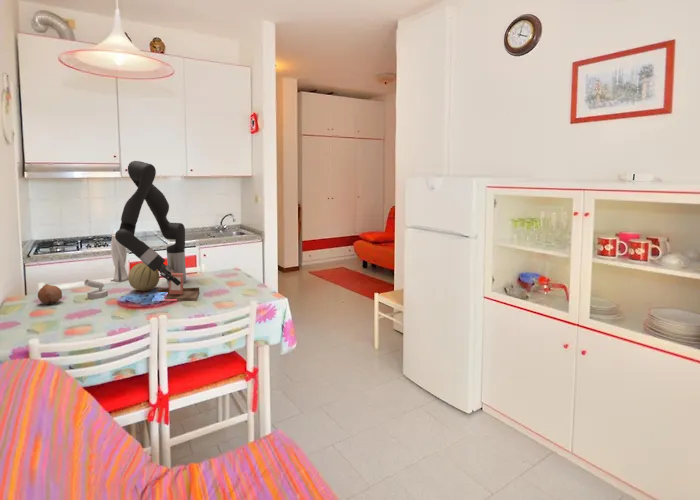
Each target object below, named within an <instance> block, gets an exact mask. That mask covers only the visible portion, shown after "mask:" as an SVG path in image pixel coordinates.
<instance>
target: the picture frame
mask: <svg viewBox="0 0 700 500" xmlns="http://www.w3.org/2000/svg"><path fill="white" fill-rule="evenodd" d="M172 275H173V276H174V277H175V278H176V279H178V280H179V281H180V282H181V283H180V284H179V285H178V286H177V285H176V284H175V283H174V282H172V281H169V283H168V284H169V285H168V288H169V294H183V288H184V283H183V273H172ZM169 277H170V276H169Z"/></svg>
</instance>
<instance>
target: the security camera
mask: <svg viewBox="0 0 700 500" xmlns="http://www.w3.org/2000/svg"><path fill="white" fill-rule="evenodd" d="M84 286H86V287H91V288H96V289H91V290H89V291H87V293H86V294H87V298H88V299H91V300H93V299H96V300H97V299H98V300H99V299H103V298H106V297H108V292H109V291H108V289H106V288H104V287H105V286H104V283H103V282H100V281H96V280H92V279H87V278H86V279H85V280H84Z"/></svg>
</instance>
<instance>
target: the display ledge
mask: <svg viewBox="0 0 700 500" xmlns="http://www.w3.org/2000/svg"><path fill="white" fill-rule="evenodd" d="M157 292H168V294H167V297H166V298H165V299H177V301H176V302H190V301H191V302H193V301H197V299H198V297H199V295H200V287H198V286H197V287H183V294H169V287H168V288H157V289H156V293H157Z"/></svg>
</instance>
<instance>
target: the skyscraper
mask: <svg viewBox="0 0 700 500" xmlns="http://www.w3.org/2000/svg"><path fill="white" fill-rule="evenodd" d="M115 234H116V232H115V233H114V230H111V242H110V243H111V247H110V248H111V249H110V253H111V257H112V262H113V266H114V273H113V274H114V275H113V279H111V280H110V282H116V283H123V282H126V281H129V280H128V275H129V274H128V273H127V270H126V264H127V263H126V262H127V248H126V247H124V246H123V245H121V244H120V243H119V242H118V241H117V240H116V238H115Z"/></svg>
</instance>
